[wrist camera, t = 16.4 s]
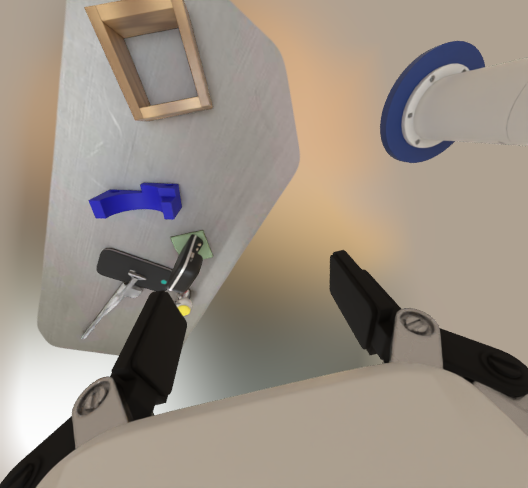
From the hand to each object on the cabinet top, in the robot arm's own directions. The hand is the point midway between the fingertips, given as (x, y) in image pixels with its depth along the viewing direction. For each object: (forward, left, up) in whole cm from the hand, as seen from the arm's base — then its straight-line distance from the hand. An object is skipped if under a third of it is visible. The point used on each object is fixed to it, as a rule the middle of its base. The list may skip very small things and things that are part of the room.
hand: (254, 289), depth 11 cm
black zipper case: (+14, +13, -30) cm, 35 cm away
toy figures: (+23, +28, -30) cm, 47 cm away
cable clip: (+18, 0, -30) cm, 35 cm away
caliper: (+39, +25, -30) cm, 55 cm away
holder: (+7, -16, -30) cm, 35 cm away
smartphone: (+28, +16, -30) cm, 44 cm away
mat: (+14, +13, -30) cm, 36 cm away
